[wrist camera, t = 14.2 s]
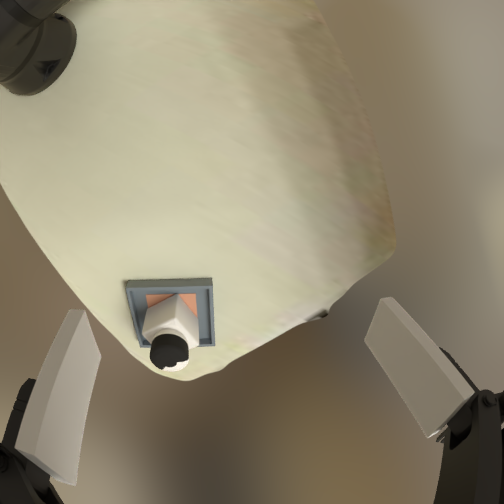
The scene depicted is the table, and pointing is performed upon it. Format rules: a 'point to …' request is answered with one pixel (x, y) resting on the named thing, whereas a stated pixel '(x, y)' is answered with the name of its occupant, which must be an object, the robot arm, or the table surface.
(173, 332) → the medicine bottle
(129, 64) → the table surface
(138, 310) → the tray
